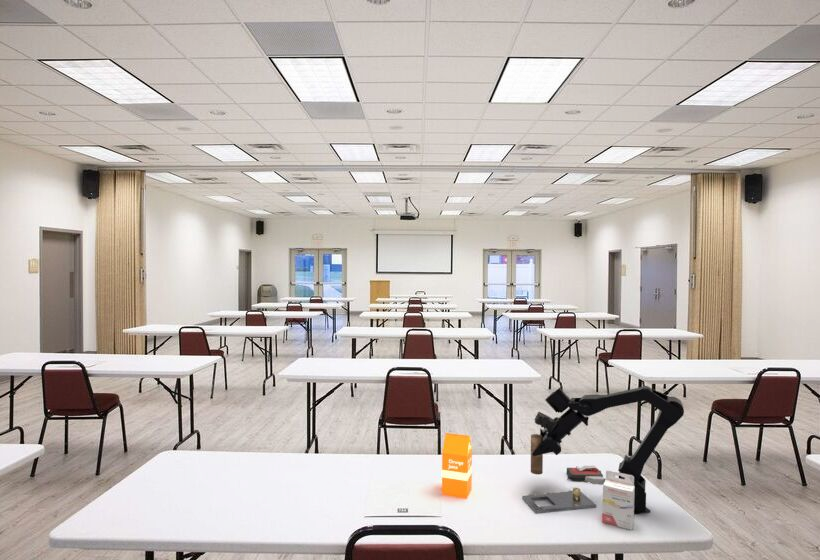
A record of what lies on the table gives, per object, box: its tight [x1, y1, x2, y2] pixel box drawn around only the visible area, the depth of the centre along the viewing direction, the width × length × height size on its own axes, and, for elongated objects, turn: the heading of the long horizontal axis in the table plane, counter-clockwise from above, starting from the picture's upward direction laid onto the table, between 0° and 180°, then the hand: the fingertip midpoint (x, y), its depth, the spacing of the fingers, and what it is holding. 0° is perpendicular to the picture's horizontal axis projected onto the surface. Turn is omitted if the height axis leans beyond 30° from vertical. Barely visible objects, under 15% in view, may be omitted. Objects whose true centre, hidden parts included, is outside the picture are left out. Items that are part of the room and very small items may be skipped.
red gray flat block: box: [566, 465, 606, 485], centre depth 178 cm, size 9×4×20 cm
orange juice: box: [441, 432, 473, 499], centre depth 167 cm, size 8×9×20 cm
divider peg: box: [530, 433, 544, 475], centre depth 167 cm, size 4×4×12 cm
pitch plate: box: [521, 487, 597, 514], centre depth 159 cm, size 10×21×4 cm, turn 101°
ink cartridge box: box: [601, 469, 635, 531], centre depth 147 cm, size 9×5×15 cm, turn 59°
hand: (532, 452), depth 167 cm, fingers closed on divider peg, 4 cm apart
